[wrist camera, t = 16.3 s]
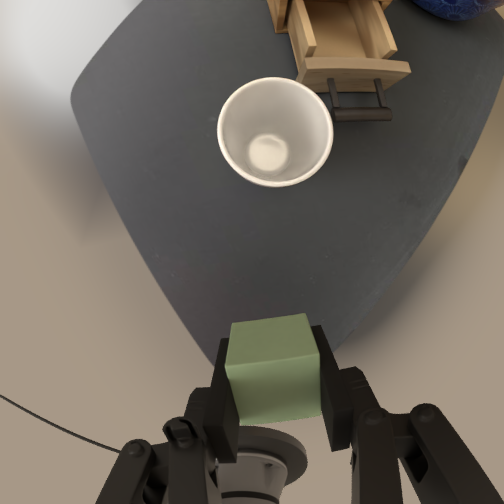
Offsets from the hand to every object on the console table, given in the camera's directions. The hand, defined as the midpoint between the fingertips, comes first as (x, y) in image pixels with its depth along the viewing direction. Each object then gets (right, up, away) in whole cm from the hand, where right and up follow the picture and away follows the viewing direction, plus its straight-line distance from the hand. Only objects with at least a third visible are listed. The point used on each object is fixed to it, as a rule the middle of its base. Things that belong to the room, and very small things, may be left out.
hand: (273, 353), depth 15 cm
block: (0, 0, 0) cm, 0 cm away
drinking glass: (0, +16, +14) cm, 21 cm away
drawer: (+8, +28, +10) cm, 30 cm away
